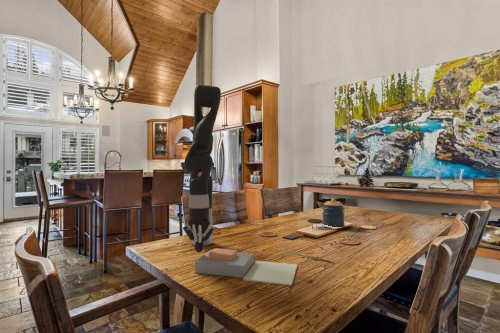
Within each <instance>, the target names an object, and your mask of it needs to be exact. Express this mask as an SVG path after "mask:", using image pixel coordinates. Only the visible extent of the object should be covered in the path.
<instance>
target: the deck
mask: <svg viewBox="0 0 500 333" xmlns="http://www.w3.org/2000/svg"><path fill="white" fill-rule="evenodd" d="M212 250H213V249H210V250H208V251H207V252H206V253H204V254H202V255H201V256H200V257H199V258H197V259H195V261H194V273H196V274H197V273H198V274H207V275H215V276H225V277H231V278H232V277H233V278H241V279H243V278H244V277H245V276H246V274H247V273H248V272H249V270H250V269H251V267H252V266H253V265H254V263H255V252H243V251H242V252H241V251H237V256H236V257H235V258H234V259H233V260H232V261H230V260H220V259H209V252H211V251H212Z"/></svg>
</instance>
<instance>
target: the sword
mask: <svg viewBox="0 0 500 333" xmlns="http://www.w3.org/2000/svg"><path fill="white" fill-rule="evenodd" d="M284 252H288V253H290V254H293V255H298V256H301V257H305V258H309V259H312V260H314V261H319V262H320V261H321V262H325V263H326V262H327V263H330V264H334V260H328V259H324V258H322V257H321V256H312V255H308V254H305V253H300V252H295V251H292V250H284Z"/></svg>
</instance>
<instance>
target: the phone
mask: <svg viewBox="0 0 500 333" xmlns="http://www.w3.org/2000/svg"><path fill="white" fill-rule="evenodd" d="M297 232H298V231H296V232H294V233H290V234H287V235H284V236H282V239H284V240H289V241H295V240H297V239H300V238H303V237H305V236H304V235H303V234H299V233H297Z"/></svg>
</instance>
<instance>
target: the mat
mask: <svg viewBox="0 0 500 333" xmlns="http://www.w3.org/2000/svg"><path fill="white" fill-rule="evenodd" d="M297 268H298V264H296V263H285V262H275V261H262V260H256V261H254V264H253V266H252V267H251V268H250V270H249V271H248V272H247V274H246V275H245V276H244V278H242V280H243V281H245V282H252V283H253V282H255V283H264V284H271V285H280V286H281V285H282V286H289V287H290V286H291V287H292V286H293V282H294V280H295V276H296V272H297Z"/></svg>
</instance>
